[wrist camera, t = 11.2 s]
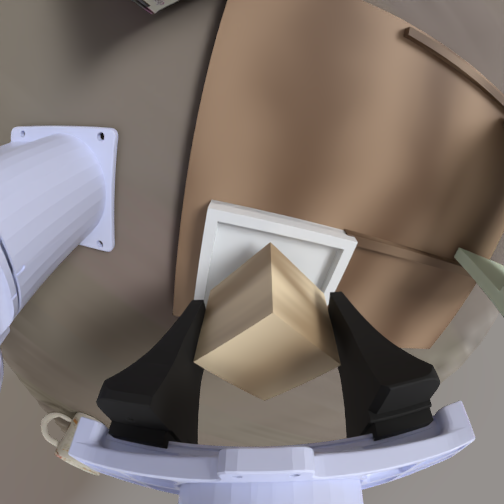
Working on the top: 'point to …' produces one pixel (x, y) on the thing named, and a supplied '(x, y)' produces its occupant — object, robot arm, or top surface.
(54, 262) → the robot arm
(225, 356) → the block
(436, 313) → the puzzle board
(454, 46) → the top surface
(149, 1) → the candy bar box
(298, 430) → the top surface
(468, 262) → the hood
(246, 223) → the tray
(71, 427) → the mug
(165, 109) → the top surface
